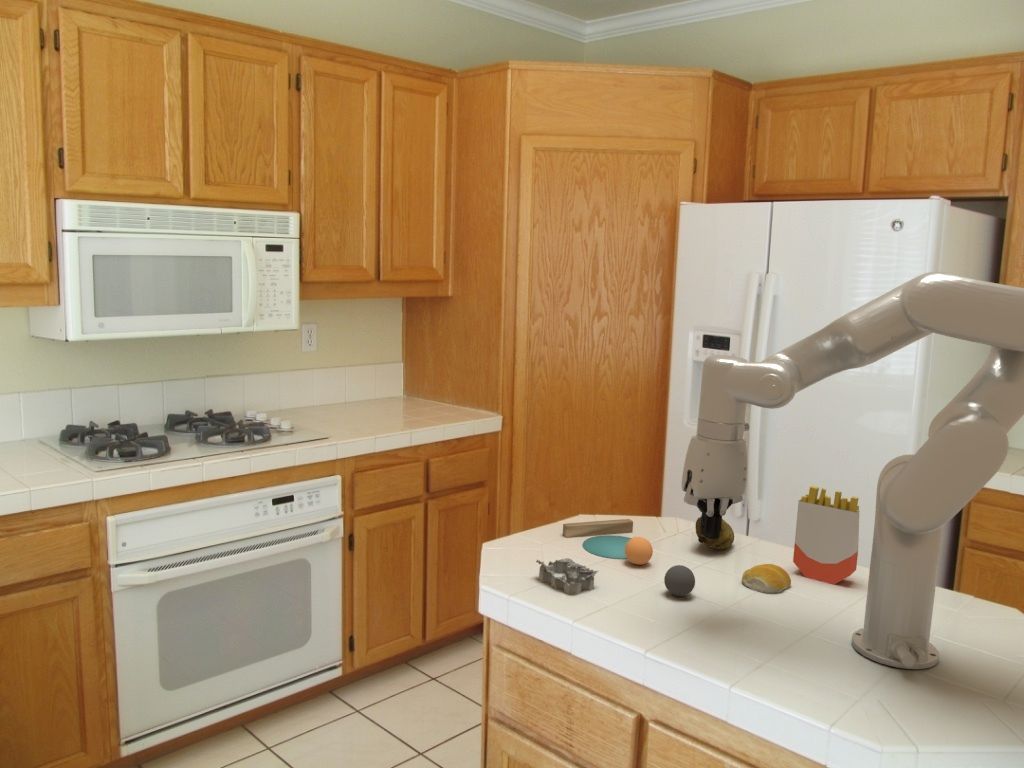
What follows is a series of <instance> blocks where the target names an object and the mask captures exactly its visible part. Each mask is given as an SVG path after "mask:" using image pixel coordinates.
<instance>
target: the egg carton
mask: <svg viewBox="0 0 1024 768" xmlns="http://www.w3.org/2000/svg"><path fill="white" fill-rule="evenodd" d="M535 562H536V563H538V565H540V566H539V572H538V573H539V574H538V577H539V579H538V580H539V581H540V582H541V583H549V584H550V583H551V585H550V586H551V587H552V588H555V589H558V588H559V589H563V593H564V594H567V595H570V594H571V595H580V594H582V591H583V590H587V591H593V590H594V589H595V588H594V587H595V586H594V585H595V576H596V575H597V573H599V570H594V569H590V567H587V566H586V565H583V564H580V563H577V562H575V561H574V560H573V559H571V558H569V557H567V558H561V559H555V560H554V561H551V560H550V561H549V562H548V564H547V565H546V564H545V562H544V561H541V560H539V559H536V561H535ZM555 574H565V575H566V576H565V575H562V576H557V577H556V576H555Z"/></svg>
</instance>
